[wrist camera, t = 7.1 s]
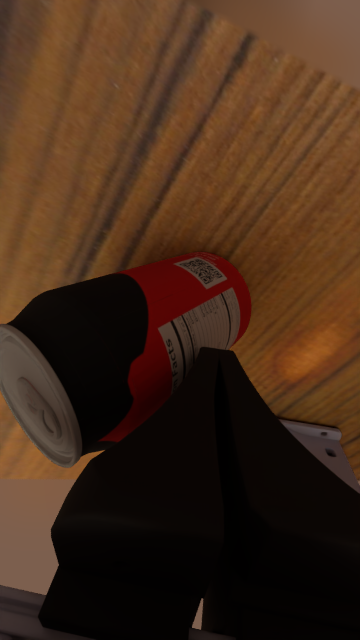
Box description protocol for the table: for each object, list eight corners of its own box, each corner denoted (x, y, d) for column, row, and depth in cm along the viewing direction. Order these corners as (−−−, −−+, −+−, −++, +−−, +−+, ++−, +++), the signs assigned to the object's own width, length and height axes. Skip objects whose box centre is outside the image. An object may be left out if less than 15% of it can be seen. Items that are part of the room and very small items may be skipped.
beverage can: (194, 229, 16) (-34, 263, 8) (280, 288, 15) (109, 426, 6) (162, 304, 20) (-15, 386, 11) (226, 359, 18) (75, 508, 10)
